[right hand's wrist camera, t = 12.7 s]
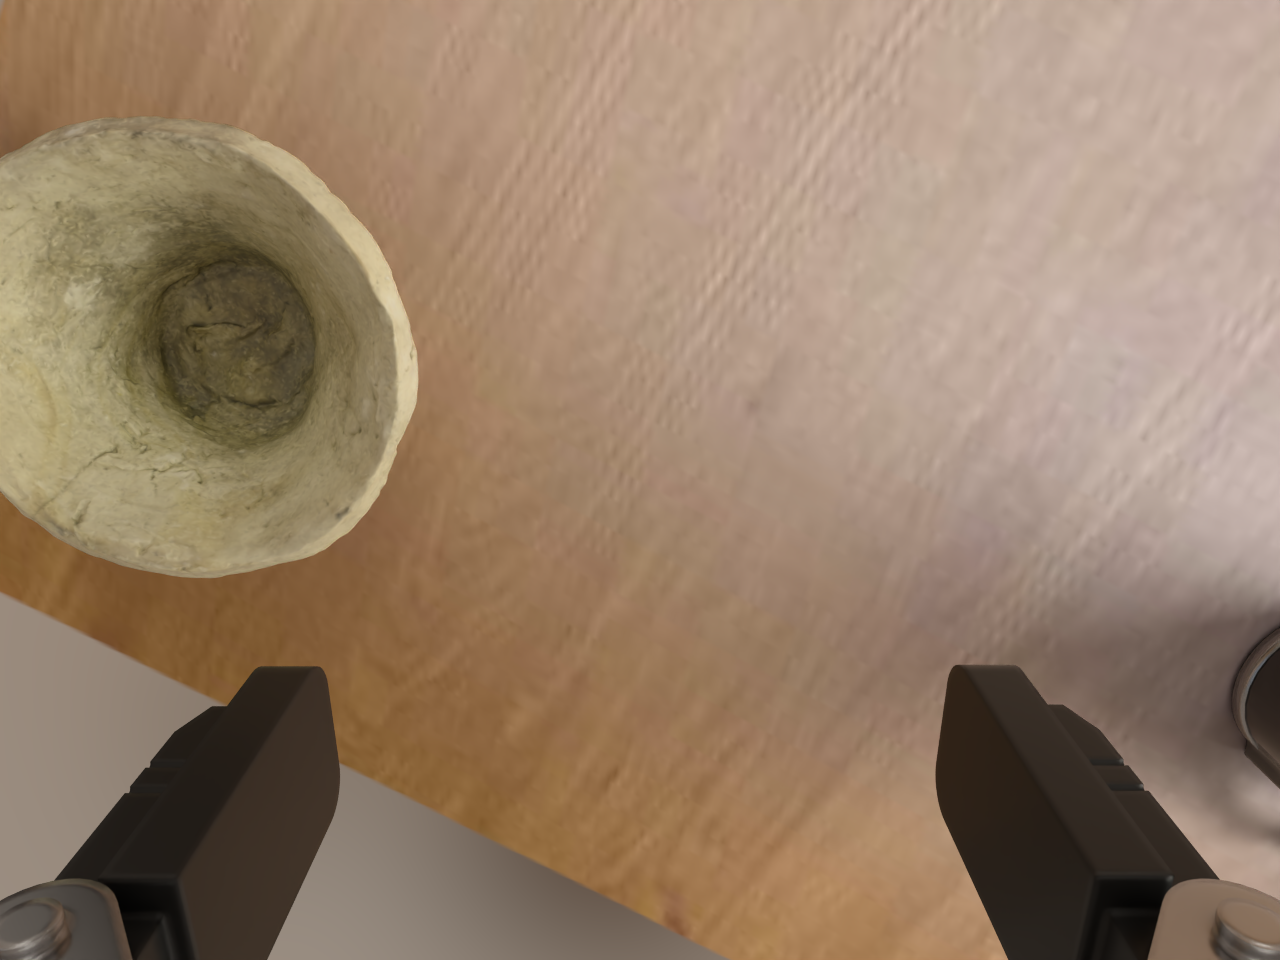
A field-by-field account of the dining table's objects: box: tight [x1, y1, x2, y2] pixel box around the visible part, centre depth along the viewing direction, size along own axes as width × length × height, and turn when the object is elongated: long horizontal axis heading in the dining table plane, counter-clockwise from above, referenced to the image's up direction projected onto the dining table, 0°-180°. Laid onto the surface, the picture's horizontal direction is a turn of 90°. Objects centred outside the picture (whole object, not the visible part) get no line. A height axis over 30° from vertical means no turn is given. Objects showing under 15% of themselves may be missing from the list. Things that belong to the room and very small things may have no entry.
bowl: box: [0, 116, 418, 578], centre depth 34 cm, size 14×18×15 cm
